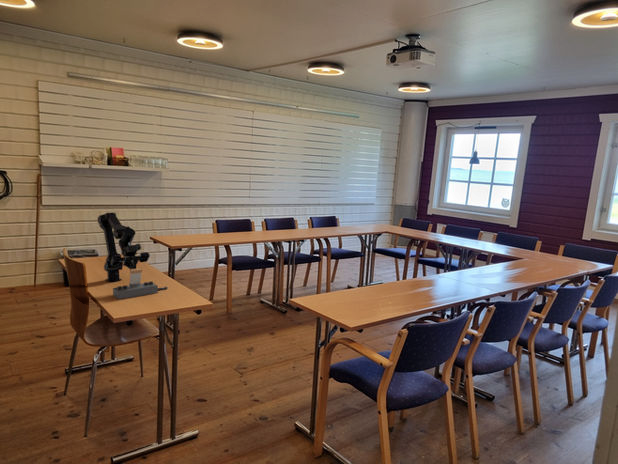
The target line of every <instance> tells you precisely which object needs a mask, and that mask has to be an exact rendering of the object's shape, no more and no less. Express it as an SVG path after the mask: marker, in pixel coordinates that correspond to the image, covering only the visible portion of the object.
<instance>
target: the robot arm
mask: <svg viewBox="0 0 618 464" xmlns="http://www.w3.org/2000/svg"><path fill="white" fill-rule="evenodd" d="M97 223H98V226H99V228H101V229H102V231H103V234H104V235H103V236H104V241H105V245H106V246H105V247H106V251H107V256H106V259H105V263H104V266H103V270H104V271H105V272H107V273H106V274H107V278H105V281H106V282H110V283H115V282H118V281H122V278H120V270H123V267H124V266H125V267H126V268H128V269H129V270H130V269H137V264H138V263H147V262H148V260H149V259H150V256H151V255H150V253H149V252H148V251H147V252H146V251H145V252H140V254H139V255H137V253H138V252H139V251H141V250H142V245H141V243H136V244H132V242H133V240H134V238H135V236H136V231H135V230H134V228H131V227H130V226H126V225H122V223H121V222H120V220H119V219H118V217H117V214H116V213H115V212H106V213H104V214H99V216H97ZM115 240H118V247H119V248H120V250H121V254H120V253H118V252H117V251H118V250H117V246H116V243H115ZM122 256H123V257H122Z"/></svg>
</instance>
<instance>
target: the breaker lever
mask: <svg viewBox="0 0 618 464" xmlns="http://www.w3.org/2000/svg"><path fill="white" fill-rule="evenodd" d="M129 273H130V275H129V283H128V286H130V287H131V286H137V285H140V284H141V280H142V273H143V269H142V267H139V268H137V267H136V269H129Z"/></svg>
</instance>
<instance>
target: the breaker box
mask: <svg viewBox="0 0 618 464" xmlns="http://www.w3.org/2000/svg"><path fill="white" fill-rule="evenodd" d="M167 289H168V286H162V287H159V286H158V285H157V284H156V283H154V281H145V282H142V283H140V285H137V286H131V287H130V286H129V285H125V284H124V285H121V286H117V287H113V288H112V296H113V297H114V298H116V299H117V300H123V299H125V300H126V299H130V298H136V297H141V296H148V295H153V294H159V291H163V290H167Z"/></svg>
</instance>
